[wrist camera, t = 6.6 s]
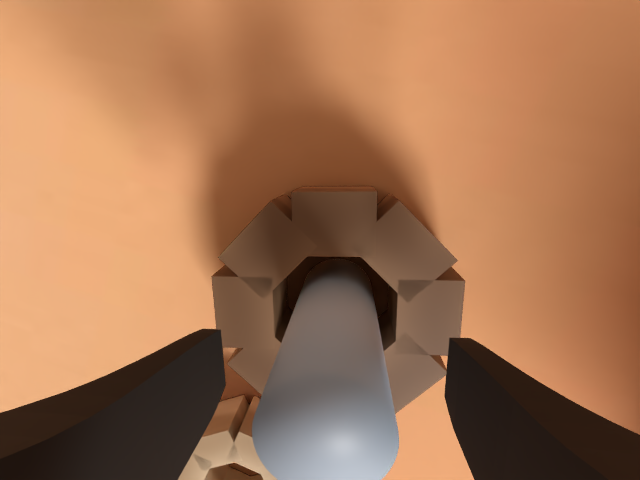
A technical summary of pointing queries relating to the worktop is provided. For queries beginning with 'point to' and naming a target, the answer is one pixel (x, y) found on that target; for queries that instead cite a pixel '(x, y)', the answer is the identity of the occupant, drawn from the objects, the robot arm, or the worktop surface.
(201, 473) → the beige notched ring
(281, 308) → the brown segmented ring
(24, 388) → the worktop surface
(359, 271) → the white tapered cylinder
